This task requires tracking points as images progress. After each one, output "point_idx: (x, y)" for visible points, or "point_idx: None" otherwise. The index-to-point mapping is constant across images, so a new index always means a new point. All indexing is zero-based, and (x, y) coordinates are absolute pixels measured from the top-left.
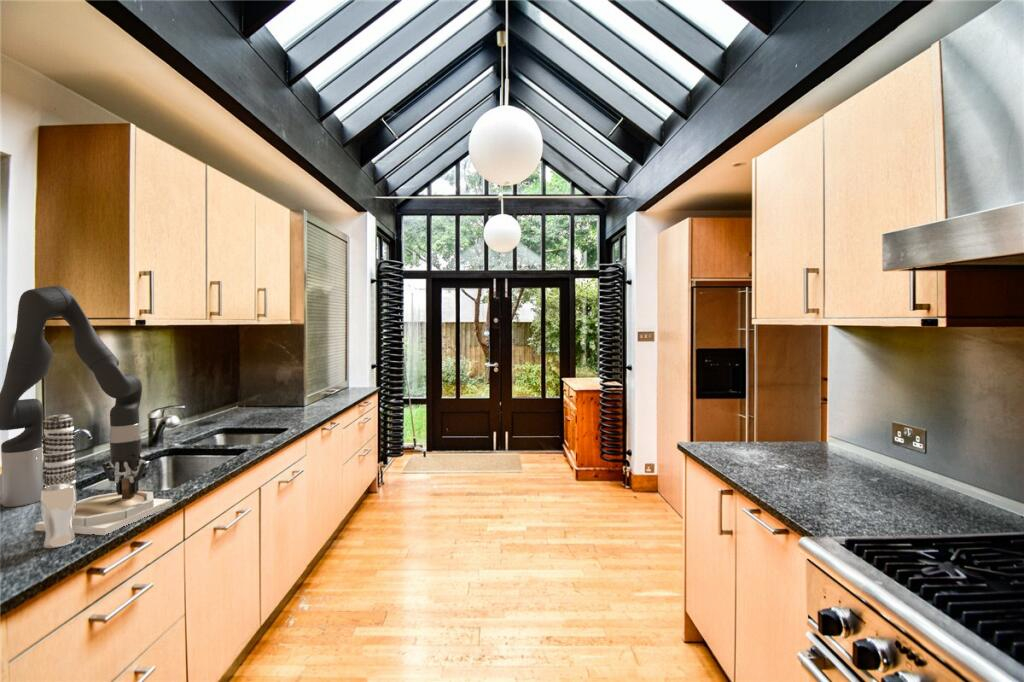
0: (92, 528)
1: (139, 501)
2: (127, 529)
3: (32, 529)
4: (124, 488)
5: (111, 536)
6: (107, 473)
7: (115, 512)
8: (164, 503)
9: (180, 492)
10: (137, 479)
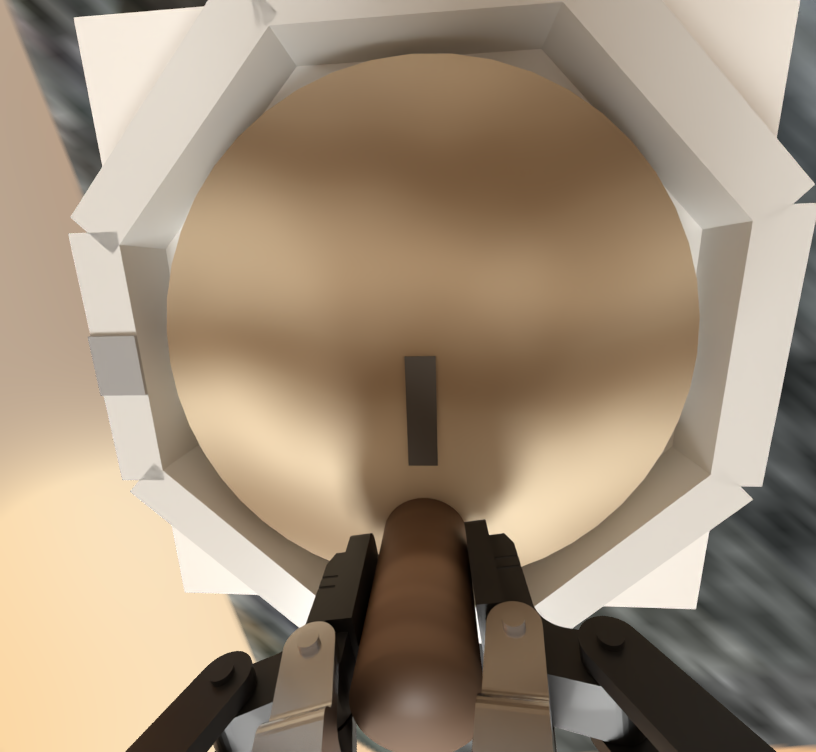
0: (193, 14)
1: (232, 461)
2: (86, 181)
3: (809, 19)
4: (407, 560)
5: (62, 48)
6: (723, 742)
7: (117, 172)
8: (178, 534)
9: (367, 740)
10: (221, 665)
